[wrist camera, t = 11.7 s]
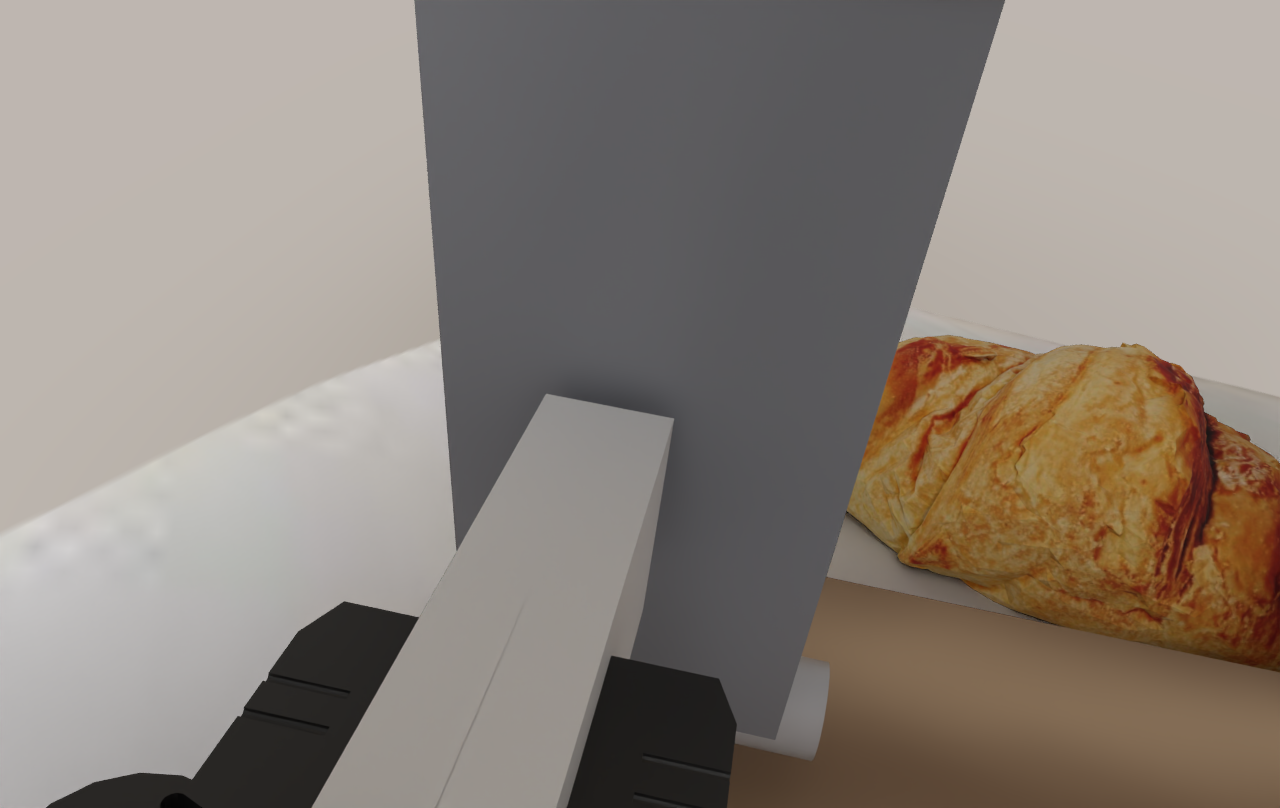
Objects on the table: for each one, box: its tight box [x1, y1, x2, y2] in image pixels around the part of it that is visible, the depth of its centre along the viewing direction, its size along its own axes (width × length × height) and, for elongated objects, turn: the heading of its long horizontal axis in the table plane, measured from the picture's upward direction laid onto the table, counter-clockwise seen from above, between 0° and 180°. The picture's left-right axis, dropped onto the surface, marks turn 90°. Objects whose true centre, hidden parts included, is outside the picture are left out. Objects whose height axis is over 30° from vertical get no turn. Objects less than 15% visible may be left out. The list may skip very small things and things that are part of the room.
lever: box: [415, 0, 1005, 761], centre depth 13 cm, size 2×6×15 cm, turn 79°
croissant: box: [847, 335, 1280, 672], centre depth 30 cm, size 21×10×8 cm, turn 52°
